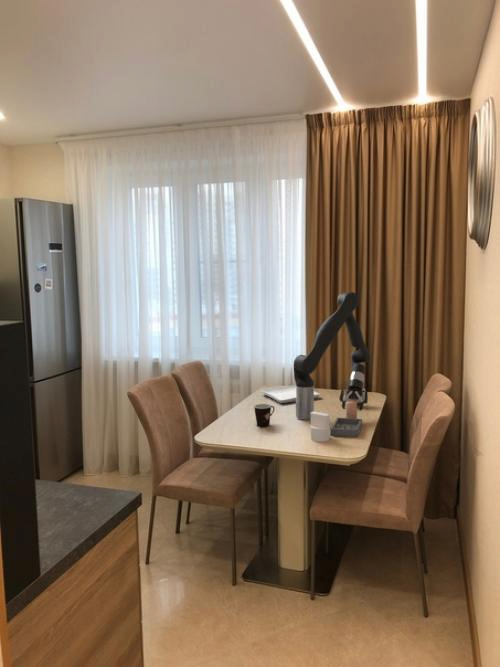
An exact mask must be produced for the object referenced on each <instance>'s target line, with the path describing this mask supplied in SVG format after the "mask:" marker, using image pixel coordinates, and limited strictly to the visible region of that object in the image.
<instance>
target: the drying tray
mask: <svg viewBox="0 0 500 667" xmlns="http://www.w3.org/2000/svg"><path fill="white" fill-rule="evenodd" d="M362 427H363V418H357V419H355V418H346V417H339V416H337V417H336V419H335V420H334V422H333V424H332V425H331V427H330V436H334V437H345V438H346V437H347V438H358V437H359V434H360V432H361V430H362Z"/></svg>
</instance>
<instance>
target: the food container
mask: <svg viewBox="0 0 500 667" xmlns="http://www.w3.org/2000/svg"><path fill="white" fill-rule="evenodd" d="M343 390H344V391H347V390H348V387H347V388H345V389H343ZM366 391H367V390H366V389H365V388H363V390H362V392H366ZM346 395H347V394H345V395H344V397H345V396H346ZM361 398H362V400H364V399H365V396H364V395H362V396H361ZM349 401H355V402H357V408H359V406H360V401H359V400H358V399H357V400H354V399H353V400H351V399H350V400H349ZM364 406H365V404H363V408H364Z"/></svg>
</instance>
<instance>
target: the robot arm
mask: <svg viewBox="0 0 500 667" xmlns="http://www.w3.org/2000/svg"><path fill="white" fill-rule="evenodd" d="M336 300H337V301H336V303H337V306H338V308H337V310H336V311H335V312H334V313H333V314H331V315H330V316H329V317H328V318H327V319H326V320H325V321H324V322H323V323H322V324H321V326H320V327H319V328H318V330H317V332H316V334H315V339H314V344H313V347H312V348H311V350H310V351H309V353H308V354H306V355H305V354H300V355H297V356H296V357H295V359H294V361H293V376H294V377H293V378H294V382H295V385H296V401H295V417H296V419H297V420H304V421H305V420H306V421H307V420H311V414H310V413H311V412H315V398H314V391H315V387H314V386H315V384H314V383H315V382H314V380H313V378H312V376H311V374H312V373H314V372H315V370H316V369H317V367H318V365H319V363H320V361H321V359H322V357H323V355H324V354H325V352H326V351H327V350H328V348H329V346H330V345H331V343H332V342H333V340H334V339H335V337H336V336H337V335H338V333H339V332H340V329H341V328H342V327H343V325H344V324H345V326H346V330H347V332H348V337H349V341H350V345H351V347H353V348H358V350H353V351H352V352H351V353H350V360H351V371H350V377H349V379H348V380H349V381H348V386H347V388H348V390H347V391H344V390H345V389H341V391H340V394H339V401H340V403H341V408H342V409H343V410H346V402H347V401H349V400H350V399H351V400H353V399H354V400H357V399H358V400H359V401H360V406H359V407H358V408H359V411H362V410H363V409H364V407H363V404H364V405H365V404H366V405H367V404H368V402H369V401H368V400H369V398H368V397H369V393H368V391H367V390H365V391H366V392H362V390H363V389H364V383H365V373H366V366H365V365H364V363H369V362H370V361H371V358H372V356H371V353H370V350H369V349H368V346H367V344H366V343H365V341H364V337H363V332H362V329H361V327H360V324H359V323H358V322H357V320H356V318H355V315H354V311H355V309H356V308H357V307H358V305H359V303H360V298H359V294H357V293H356V292H354V291H353V292H352V291H346V292H345V291H344V292H341V293H340V294H338V296H337V299H336ZM345 394H347V395H346V396H345ZM362 395H364V396H365V398H364V400H362V398H361V396H362Z"/></svg>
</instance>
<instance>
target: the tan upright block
mask: <svg viewBox="0 0 500 667" xmlns="http://www.w3.org/2000/svg"><path fill="white" fill-rule="evenodd" d="M345 418H355V419H358V407H357V402H355V401H347V402H346V405H345Z"/></svg>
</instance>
